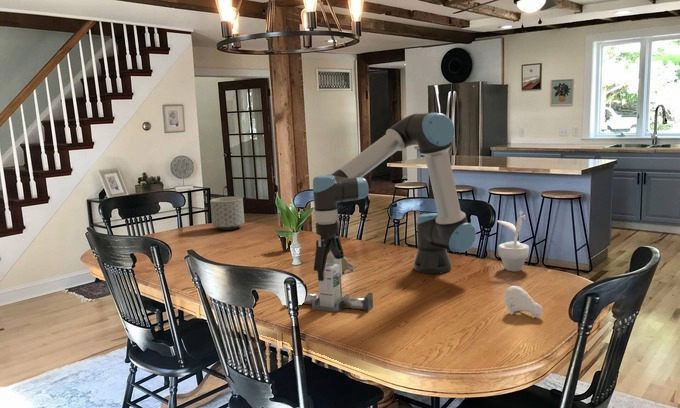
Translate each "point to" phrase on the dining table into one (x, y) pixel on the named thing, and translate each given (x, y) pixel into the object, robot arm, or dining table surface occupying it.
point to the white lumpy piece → (521, 302)
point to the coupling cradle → (342, 303)
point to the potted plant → (513, 248)
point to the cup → (283, 242)
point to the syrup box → (331, 286)
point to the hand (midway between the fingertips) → (330, 282)
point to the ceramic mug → (343, 261)
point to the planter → (227, 212)
